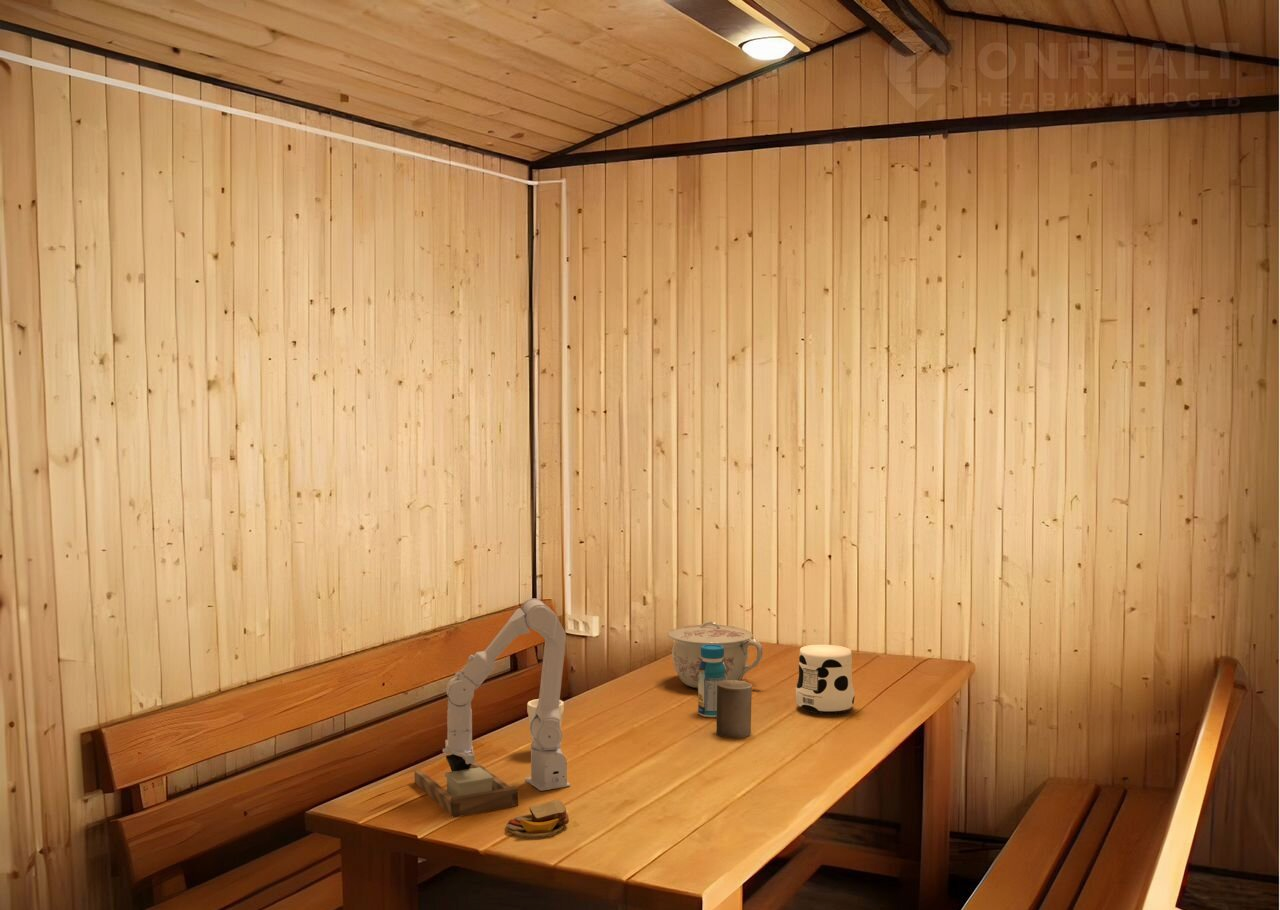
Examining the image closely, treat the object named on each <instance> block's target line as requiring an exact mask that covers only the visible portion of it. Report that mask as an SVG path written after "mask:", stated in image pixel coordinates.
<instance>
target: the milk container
mask: <svg viewBox="0 0 1280 910" xmlns="http://www.w3.org/2000/svg"><path fill="white" fill-rule="evenodd" d="M798 657H799V658H798V659H799V662H798V681H797V683H796V686H795V700H796V704H797V706H798V707H800V709H802V710H804V711H806V712H811V713H816V714H824V715H828V714H829V715H831V714H833V715H834V714H840V713H845V712H848V711H849V710H851V709H852V708H853V706H854V702H855V698H856V697H855V694H856V693H855V689H854V685H853V677H852V676H853V675H852V672H853V664H852V663H853V658H852V657H853V655H852V650H851V649H850V648H848V647H845V646H841V645H837V644H836V645H835V644H808V645H804V646H801V647H800V649H799V656H798Z"/></svg>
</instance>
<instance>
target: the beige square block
mask: <svg viewBox="0 0 1280 910" xmlns="http://www.w3.org/2000/svg"><path fill="white" fill-rule="evenodd" d="M444 773H445V775H444V777H446V792H448V793H449V794H450V795H451V796H452V797H457V796H463V795H469V794H475V793H481V792H486V791H492V781H494V777H492V776H491V775H490V774H488V773H487V772H486V771H484V770H483V769H482V768H480V767H478V768H472V769H470V768H469V769H465V770H459V771H453V772H452V771H449V772H444Z"/></svg>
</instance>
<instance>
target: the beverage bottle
mask: <svg viewBox="0 0 1280 910" xmlns="http://www.w3.org/2000/svg"><path fill="white" fill-rule="evenodd" d="M701 658H703V660H702V661H701V663H700V665H699V668H698V671H699V675H698V689H697V691H698V693H697V694H698V695H697V697H698V699H697V701H698V702H697V704H698V705H697V713H698V714H699V716H700V717H701V716H702V717H705V718H717V684H718V682H721V681H725V680H727V677H726V675H725V672H726V666H725V664H724V662H723V661H722V659H723V658H724V647H723V646H721V645H715V644H708V645H703V646H701Z"/></svg>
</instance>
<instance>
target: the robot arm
mask: <svg viewBox="0 0 1280 910" xmlns="http://www.w3.org/2000/svg"><path fill="white" fill-rule="evenodd" d="M511 615H512V616H511V617H510V618H509V619H508V621H507V622H506V623H505V624H504V625H503V627H502V628H501V629H500V630H499V632H498V633H497V634H496V636H495V637H494V638H493V639H492V641H491V642H490V643H489V644H488V646H487V647H486V648H485V649H484V650H483V651H482V650H481V651H476V652H475V654H474V655H473V654H470V655H469V656H468V657H467V659H468V662H466V664H465V665H464V666H463V667H462V668H461V670H460V671H457V672H456V673H455V674H454V675H455V677H452V678H451V679H449V680H448V682H447V684H446V687H445V694H446V695H447V697H448V698H447V711H446V713H447V716H446V719H447V724H446V725H447V726H446V727H447V728H446V729H447V739H445V741H444V742H445V743H444V745H445V748H444V747H443V748H442V753H444V754H447V755H446V756H445V758H446V761H447V763H448V766H449V767H450V770H451V771H450V772H453V771H459V770H465V769H470V766H471V764H472V763H475V761H476V755H475V753H474V746H473V714H472V713H473V710H472V700H473V699H474V697H475V690H477V689H478V688H479V687H480V686H481V685H482V684H483V682H484V681H485V680H486V679H487V678H488V676H489V675H490V674H491V673H492V672H493V671H494V670H495V668H496V665H495V664H496V663H495V661H496V660H497V658H498V657H499V656H500V655H501V654H502V653H503V652H504V651H505V650H506V649H507V648H508V646H509V645H511V643H512V642H513V641H515V639H516V638H517V637H518V636H522V635H527V634H531V631H530V629H532V630H533V631H535V632H536V633H538V634H540V636H541V637H542V638H543V639H544V647H543V657H542V667H541V676H540V685H539V693H538V695H539V696H538V699H539V702H538V706H537V708H536V712H535V716H534V718H533V720H532V721H531V724H529V730H530V734H531V733H532V735H533V736H534V740H533V742H532V741H531V744H530V776H529V777H525V778H524V781H526V782H527V783H528V784H530V785H532V787H534V788H535V789H537V790H538V791H540V792H542V791H549V790H554V789H560V788H566V787H570V786H571V783H570V782H569V781H568V766H567V765H568V761H567V758H566V755H564V754H563V752H562V743H561V742H562V741H563V740H562V739H563V731H562V729H561V728H562V727H561V728H560V715H559V700H561V698H560V697H561V692H562V691H561V690H562V681H563V680H562V679H563V671H564V670H563V669H564V664H565V663H564V662H565V653H566V650H565V649H566V643H567V633H566V631H565V630H564V628H563V625H562V623H561V622H560V620H559V618H558V615H557V614H556V613H555V612H554V611H553V610H552V609H551V608H550V607H549V606H548V605H547V604H545V602H543V601H542V600H541V599H539V598H529V599H527V600H525V601H524V602H523V603H522V605H521V607H519V608H517V609H516V610H515V611H514V612H513V614H511ZM448 754H449V755H448Z"/></svg>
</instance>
